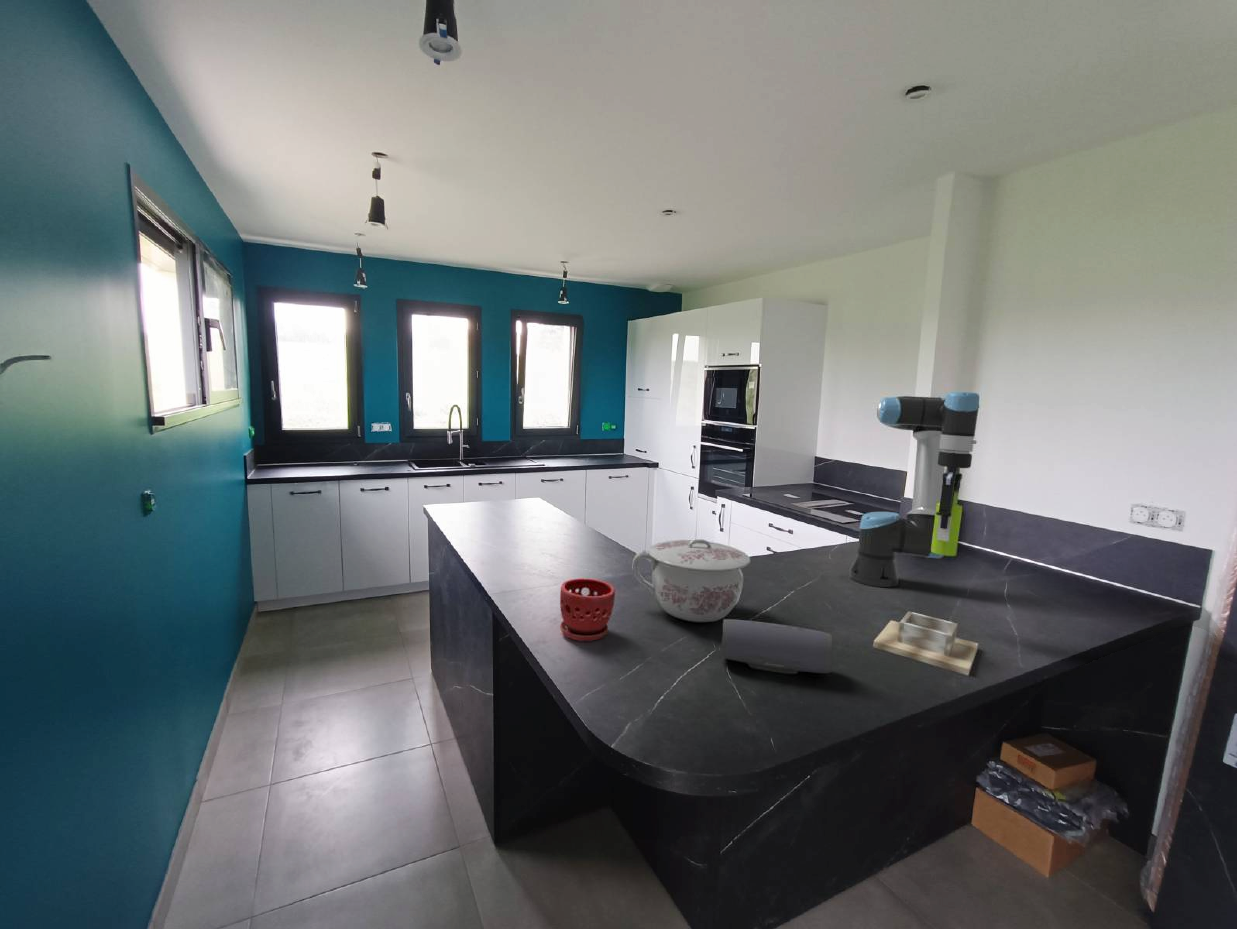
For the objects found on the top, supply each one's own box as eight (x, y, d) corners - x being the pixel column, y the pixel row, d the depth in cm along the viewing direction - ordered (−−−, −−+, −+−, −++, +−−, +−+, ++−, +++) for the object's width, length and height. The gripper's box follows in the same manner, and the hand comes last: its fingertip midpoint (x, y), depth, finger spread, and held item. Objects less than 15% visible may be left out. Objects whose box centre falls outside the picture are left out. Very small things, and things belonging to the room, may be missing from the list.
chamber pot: (764, 615, 153) (771, 542, 150) (708, 644, 133) (714, 560, 130) (682, 587, 172) (686, 522, 169) (622, 609, 151) (626, 535, 149)
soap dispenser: (952, 550, 151) (961, 478, 149) (958, 557, 145) (968, 481, 142) (927, 547, 153) (936, 476, 150) (933, 554, 146) (942, 479, 144)
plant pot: (571, 649, 126) (573, 598, 125) (550, 626, 138) (552, 580, 136) (621, 640, 132) (624, 592, 131) (598, 619, 144) (600, 574, 142)
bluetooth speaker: (823, 666, 125) (828, 624, 123) (829, 687, 116) (834, 641, 114) (721, 651, 130) (724, 610, 128) (719, 669, 121) (722, 626, 119)
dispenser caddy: (872, 646, 136) (875, 621, 135) (890, 625, 150) (893, 602, 149) (968, 675, 124) (972, 647, 123) (977, 649, 138) (981, 624, 137)
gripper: (967, 455, 135) (955, 547, 138) (976, 451, 150) (965, 534, 153) (932, 452, 140) (921, 541, 143) (944, 448, 155) (934, 529, 157)
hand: (944, 537), depth 148 cm, fingers closed on soap dispenser, 6 cm apart
